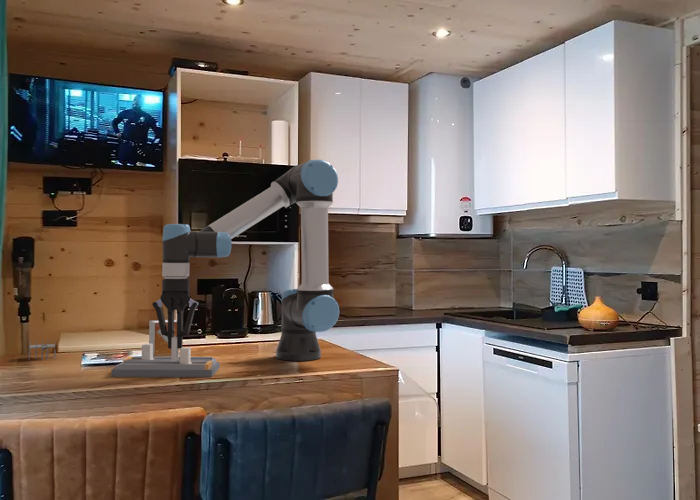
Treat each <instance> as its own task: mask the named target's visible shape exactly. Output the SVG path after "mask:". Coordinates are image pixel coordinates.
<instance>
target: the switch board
mask: <svg viewBox="0 0 700 500" xmlns="http://www.w3.org/2000/svg"><path fill="white" fill-rule="evenodd" d="M153 358H154V360H149V359H142V356H128V357H126V358H124V359H123V360H122V362H120V363H118V364H115V366H114V368H112V369H111V370H110V371H111V373H110V374H111V377H113V378H116V377H117V378H119V377H120V378H122V377H123V378H126V377H127V378H130V377H131V378H213V376H214V375H215V374H216V373H217V372H218V371H219V370H220V369H219V368H220V365H221V363H220V361H217V358H214V356H191V362H192V364H180V356H179V359H178V360H177V361H171V357H153ZM218 369H219V370H218ZM217 370H218V371H217Z"/></svg>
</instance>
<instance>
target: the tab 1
mask: <svg viewBox="0 0 700 500" xmlns="http://www.w3.org/2000/svg"><path fill="white" fill-rule="evenodd" d="M141 357H142V359H149V360H154V358H153V344H150V343H149V342H148V343H143V344H141Z"/></svg>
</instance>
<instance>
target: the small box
mask: <svg viewBox="0 0 700 500" xmlns="http://www.w3.org/2000/svg"><path fill="white" fill-rule="evenodd" d="M148 322H149V324H148V325H149V326H148V328H149V329H148V333H149V334H148V343H150V344H153V357H171V349H169V348H168V337H167V336H165V335H162V334H161V330H160V326H159V321H158V320H149V321H148ZM165 322H166V327H167V331H168V319H165ZM174 334H175V335H174V337H176V336H177V319H174Z"/></svg>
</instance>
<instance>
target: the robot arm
mask: <svg viewBox="0 0 700 500" xmlns="http://www.w3.org/2000/svg"><path fill="white" fill-rule="evenodd" d="M338 184H339V176H338V172H337V170H336V168H335V167H334V166H333V165H332V164H331V163H330V162H328V161H327V160H324V159H310V160H307V161H306V162H303V163H300V164H297V165H295V166H293V167H292V168H290V169H289V170H288V171H286V172H285V173H284V174H282V175H281V176H280V177H278V178H277V179H275V180H274V181H272V182H271V183H270V187H268V188H266V189H265V190H264V191H262V192H261V193H259V194H257V195H256V196H254V197H252V198H250V199H249V200H247V201H246V202H244V203H242V204H241V205H239V206H238V207H235V208H234V209H233V210H231V211H230V212H228V213H226V214H224V215H223V216H222V217H221V216H220V218H218V219H217V220H215V221H213V222H212V223H210V224H209V225H207V226H206V227H204V228H203V229H200V230H199V231H194V230H193V231H192V230H191V227H190V225H189V224H188V223H187V224H184V223H183V224H182V223H167V224H165V225H164V226H163V230H162V231H163V232H162V240H161V241H162V269H161V271H162V272H161V275H162V277H164V278H163V279H162V280H161V288H162V289H161V295H160V298H159V299H158V300H156V301H153V302H152V306H153V308H154V310H155V311H156V312H155V313H156V317H157V321H159V326H160V330H161V334H162V335H165V336H167V337H168V348H169V349H171V361H177V360H178V359H179V357H180V348H182V347H184V346H183V342H184V340H183V338H184V337H185V336H187V335H189V334H190V332H191V328H192V327H191V326H192V323H193V319H194V315H195V311H196V309H197V308H198V306H199V302H198V301H195V300H193V299H192V296H191V294H190V279H189V278H188V277H190V260H191V259H190V258H218V259H220V258H227V257H229V256H230V254H231V251H232V247H233V246H232V239H233V238H235V237H237V236H239V235H240V234H242V233H244V232H245V231H246V230H248V229H250V228H251V227H253V226H254V225H256V224H257V223H259V222H261V221H262V220H264V219H265V218H267V217H268V216H270V215H272V214H273V213H275V212H277V211H278V210H280V209H281V208H283V207H285V208H288V207H290V206H291V205H293V204H297V206H298V207H300V228H301V229H300V230H301V231H300V232H301V233H300V234H301V235H300V237H301V239H300V241H301V245H300V246H301V284H300V285H299V286H298V287H297V288H293V289H292V288H290V289H285V290H284V291H282V294H281V299H280V300H281V301H280V302H281V334H280V335H281V336H280V338H279V340H278V341H279V342H278V344H277V348H276V351H275V358H276V359H278V360H283V361H293V362H294V361H295V362H297V361H298V362H300V361H301V362H305V361H313V360H314V361H315V360H318V359H321V357H322V350H321V347H320V344H319V341H318V337H317V332H318V333H323V332H327V331H329V330H330V329H332V328H333V327H334V326H335V325H336V323H337V322H338V319H339V317H340V307H339V303H338V302H337V301H336V299H335V298H334V297H335V296H334V287H333V286H332V285H331V284H330V283H329V282H330V281H329V278H330V277H329V274H330V273H329V208H330V207H331V205H333V201H334V200H333V198H334V197H333V194H334V192H335V190H336V189H337V187H338ZM187 305H188V307H189V309H188V313H187V316H186V320H185V324H184V311H185V310H184V309H185V308H186V306H187ZM163 306H164V307H165V308H166V309H167V320H168V331H167V327H166V322H165V320H166V317H165V313H164V311H163V308H162V307H163ZM175 311H176V312H175ZM175 313H176V321H177V336H176V337H174V335H175V334H174V320H175Z"/></svg>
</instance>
